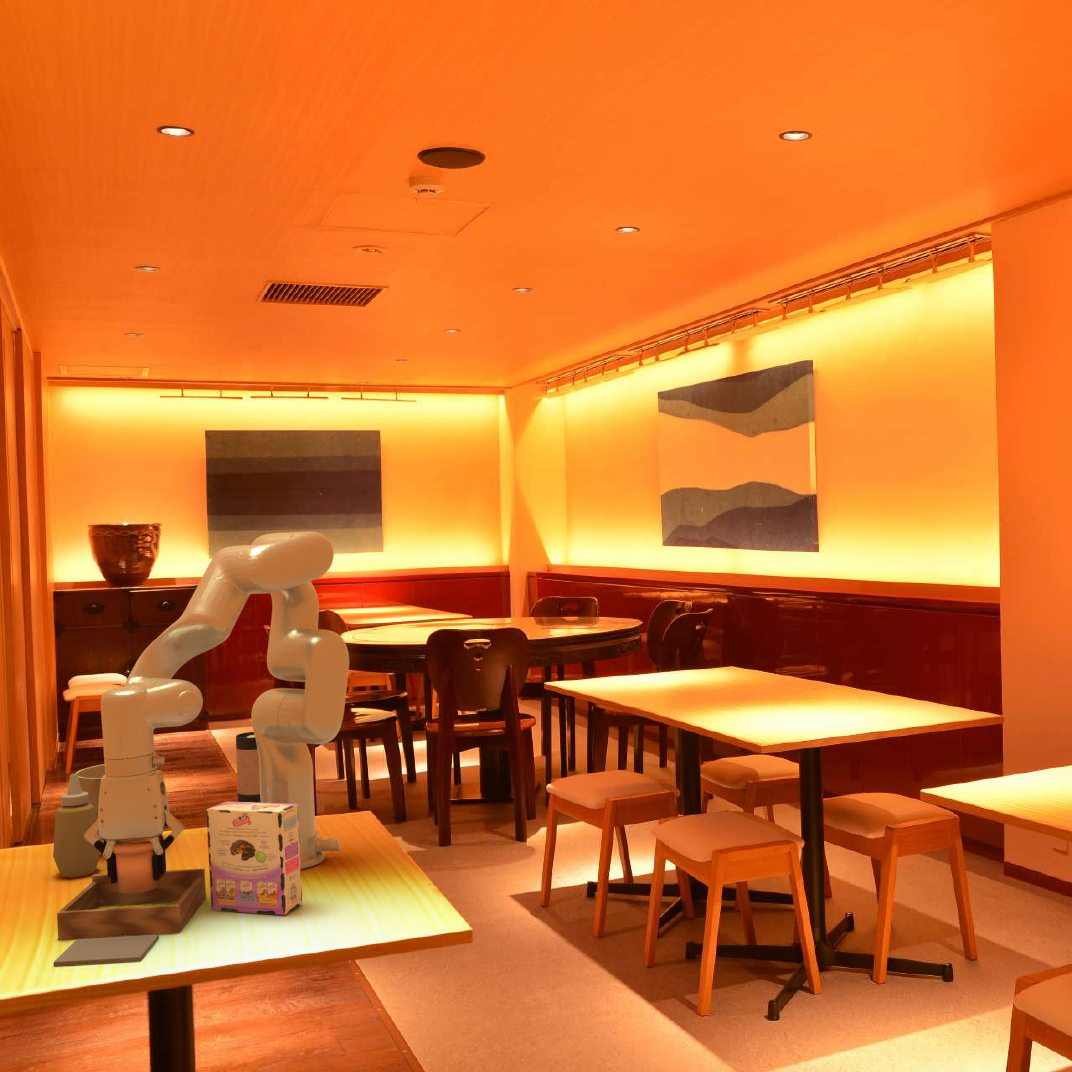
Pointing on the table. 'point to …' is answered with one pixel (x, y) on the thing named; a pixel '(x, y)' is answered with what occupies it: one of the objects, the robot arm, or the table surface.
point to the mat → (106, 950)
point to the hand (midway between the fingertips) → (137, 878)
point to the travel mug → (247, 768)
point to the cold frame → (95, 923)
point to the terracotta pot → (134, 865)
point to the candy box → (254, 857)
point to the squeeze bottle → (74, 833)
